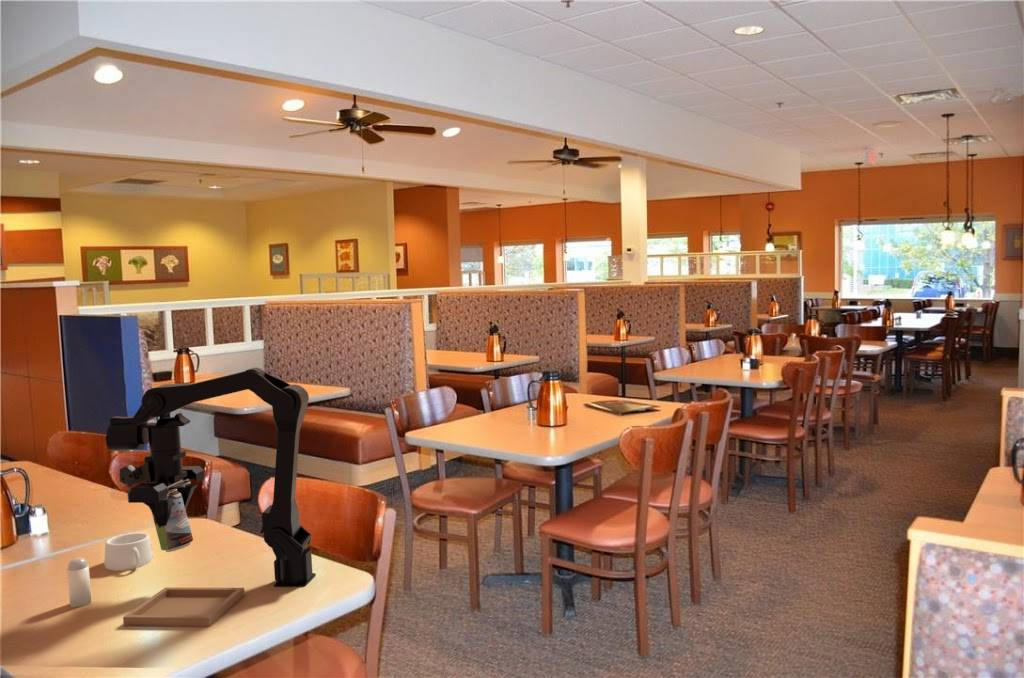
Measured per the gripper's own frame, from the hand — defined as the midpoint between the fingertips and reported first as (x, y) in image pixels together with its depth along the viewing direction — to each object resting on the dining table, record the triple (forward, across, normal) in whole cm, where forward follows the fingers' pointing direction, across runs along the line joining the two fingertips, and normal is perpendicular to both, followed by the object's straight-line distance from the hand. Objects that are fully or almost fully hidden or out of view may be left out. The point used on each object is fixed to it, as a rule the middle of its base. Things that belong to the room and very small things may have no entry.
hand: (171, 526), depth 161 cm
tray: (+12, +12, +9) cm, 19 cm away
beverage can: (+5, 0, +1) cm, 5 cm away
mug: (+13, -11, -16) cm, 24 cm away
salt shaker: (+12, +9, -14) cm, 21 cm away
